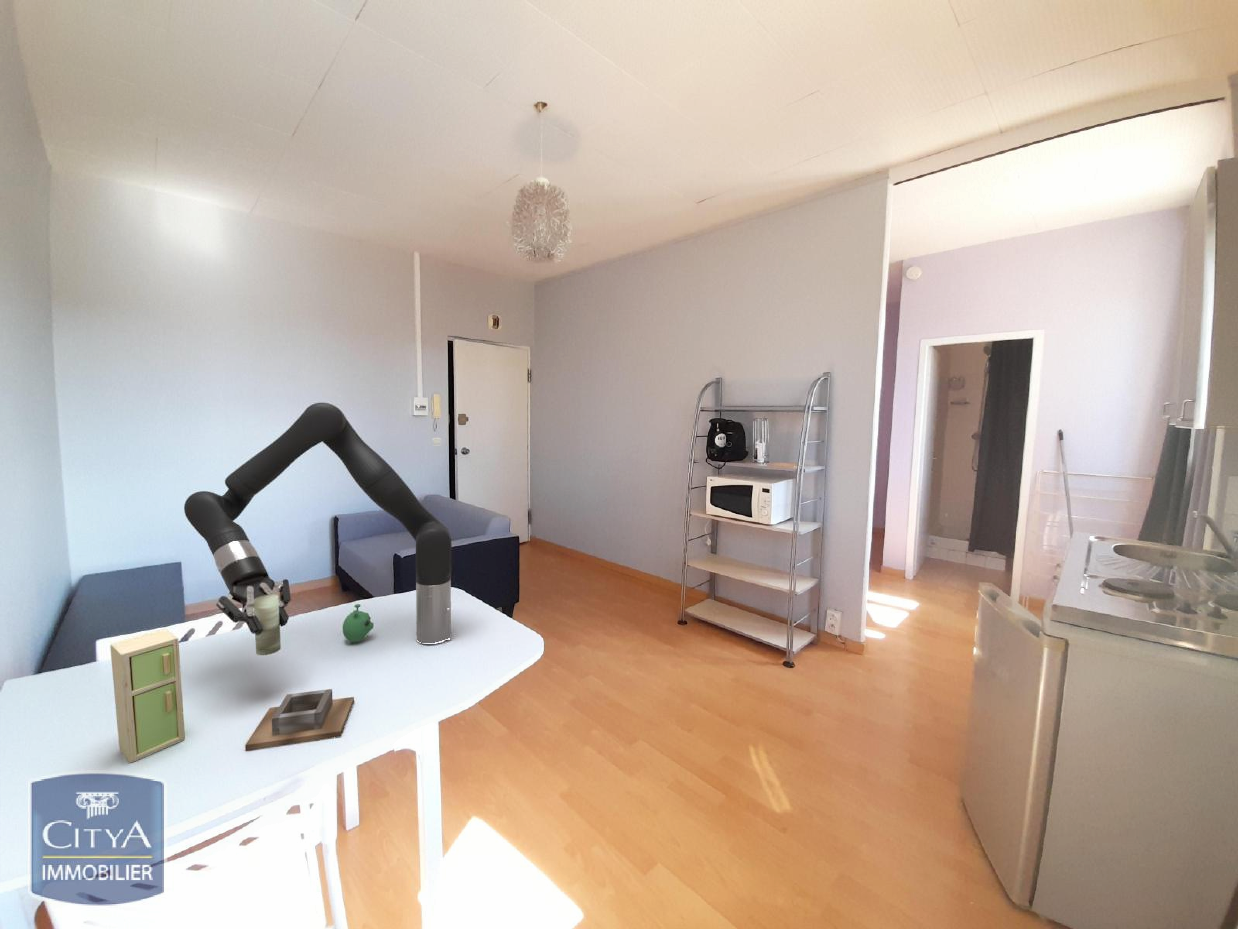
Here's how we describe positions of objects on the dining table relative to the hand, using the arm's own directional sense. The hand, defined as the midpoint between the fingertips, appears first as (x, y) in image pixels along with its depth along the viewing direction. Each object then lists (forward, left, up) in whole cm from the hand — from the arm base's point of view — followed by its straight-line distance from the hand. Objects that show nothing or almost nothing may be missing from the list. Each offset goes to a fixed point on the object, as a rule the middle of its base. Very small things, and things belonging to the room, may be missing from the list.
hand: (272, 628), depth 104 cm
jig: (-9, +11, -17) cm, 22 cm away
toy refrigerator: (+16, +11, -17) cm, 26 cm away
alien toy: (-12, -26, -17) cm, 33 cm away
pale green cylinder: (+1, -1, -6) cm, 6 cm away
